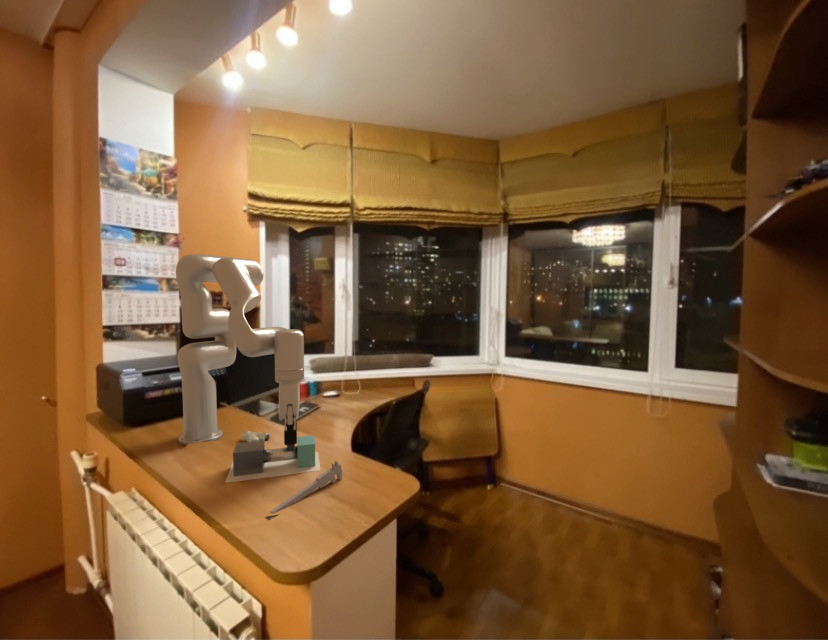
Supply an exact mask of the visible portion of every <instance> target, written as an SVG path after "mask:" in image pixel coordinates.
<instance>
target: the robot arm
mask: <svg viewBox="0 0 828 640" xmlns="http://www.w3.org/2000/svg"><path fill="white" fill-rule="evenodd" d="M264 275H265V274H264V270H263V267H262V265H261V264H260V263H259V262H258V261H257V260H254V259H251V258H243V257H242V258H241V257H232V256H231V257H230V256H222V255H220V256H219V255H211V254H203V253H202V254H200V253H193V254H191V253H190V254H186V255H184V256H181V258H179V260H178V261H177V264H176V267H175V277H176V279H175V280H176V281H177V286H178V288H179V292H180V305H181V326H182V327H181V328H182V333H183V334H184V336H185V337H187V338H189V339H206V338H214V340H211V341H210V340H207V341H201V342H200V341H199V342H192V343H187V344H186V345H183V346H182V347H181V348H180V349H179V350H178V352H177V355H176V356H177V357H176V358H177V363H178V367H179V372H180V376H181V377H180V379H181V386H182V387H181V389H182V391H181V393H182V414H183V415H182V417H183V433H182V434H180V436H179V437H178V443H180V444H181V445H186V446H188V444H195V443H197V444H198V443H204V442H214V441H217V440H219V439H220V438H221V437H223V433H224V432H223V430H222V429H221V428H218V414H217V413H218V411H217V410H218V409H217V408H218V407H217V385H216V384H217V383H216V381H215V379H214V378H213V377H212V375H211V374H210V373H209V371H212V370H218V369H223V368H226V367H230V366H231V365H233V364H234V363H235V361H236V359H237V358H236V357H237V350H238V351H239V352H240V353H241V354H242V355H243V356H246V357H249V358H256V357H263V356H268V355H274V382H275V383H277V384H278V419H279V421H282V420H284V430H283V437H284V438H283V443H284V444H283V445H284V446H287V445H292V444H295V445H296V444H297V437H298V427H297V426H298V423H297V422H298V421H296V420H297V419H298V418H299V414H300V399H301V398H300V397H301V388H300V387H301V382H303V381H305V340H304V339H305V335H304V332H303V331H302V330H301V329H295V328H294V329H293V328H292V329H291V328H285V327H281V326H271V327H260V328H252V327H251V326H250V324H249V322H248V320H247V318H246V317H245V314H246V313H248V312H251V310H253V309H254V308H256V307H257V306H258V305H259V303H260V302H261V300H262V295H261V293H260V291H259V289H258V288H257V286H259V285H260V284H262V282H263V280H264ZM205 283H216V284H218V285H219V287H220V289H221V291H222V292H223V295H224V296H225V297H226V300H227V302H228V303H229V305H230V306H231V308H230V310H228V309H227V308H223V307H222V308H221V307H220V308H217V307H216V308H215V307H214V308H213V301H212V300H213V299H212V293H211V292H210V290H209V288H208V287H207V286H206V284H205Z"/></svg>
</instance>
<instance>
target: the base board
mask: <svg viewBox="0 0 828 640" xmlns="http://www.w3.org/2000/svg"><path fill="white" fill-rule="evenodd" d="M318 471H321V464H320V456H319V452H318V451H315V466H312V467H304V468H298V459H294V460H286V461H278V462H270V463H265V464H264V470H263V473H257V474H249V475H242V476H234V473H233V462H232V463H231V466H230V469H229V471H228V474H227V477H226V479H225V483H234V482H243V481H250V480H257V479H258V480H259V479H265V478H273V477H281V476H288V475H295V474H302V473H303V474H304V473H311V472H318Z"/></svg>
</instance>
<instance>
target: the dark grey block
mask: <svg viewBox="0 0 828 640" xmlns="http://www.w3.org/2000/svg"><path fill="white" fill-rule="evenodd" d="M263 450H266V449H265V443H264V441H254V442H247V441H244V442H238V443H237V442H236V443H235V446H234V449H233V452H232V463H233V473H234V476H242V475H249V474H257V473H263V470H264V464H265V463H263Z"/></svg>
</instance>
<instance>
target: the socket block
mask: <svg viewBox="0 0 828 640" xmlns="http://www.w3.org/2000/svg"><path fill="white" fill-rule="evenodd" d="M296 446H297V455H298V468H304V467H312V466H315V452H316V440H315V435H313V434H311V435H305V436H297V445H296Z"/></svg>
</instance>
